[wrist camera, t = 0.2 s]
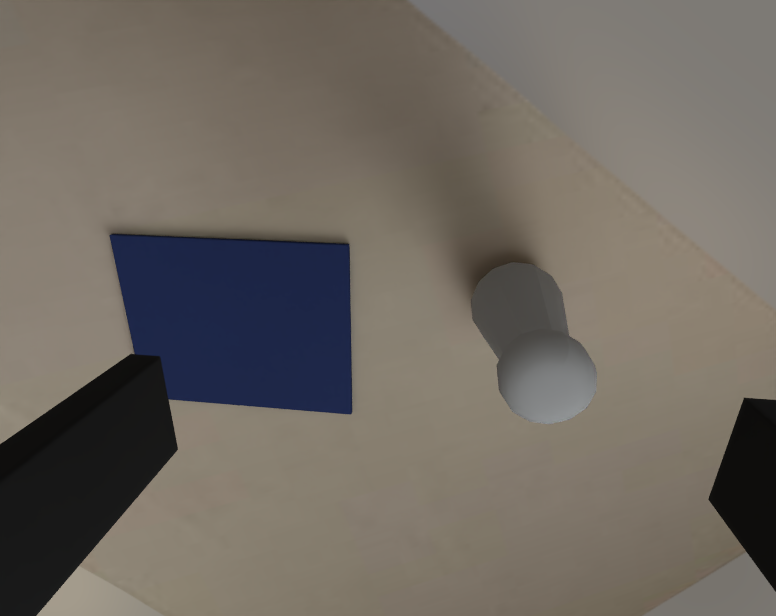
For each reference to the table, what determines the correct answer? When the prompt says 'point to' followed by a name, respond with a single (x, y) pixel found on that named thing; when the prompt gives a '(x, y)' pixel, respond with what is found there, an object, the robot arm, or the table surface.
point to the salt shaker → (533, 344)
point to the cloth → (242, 318)
